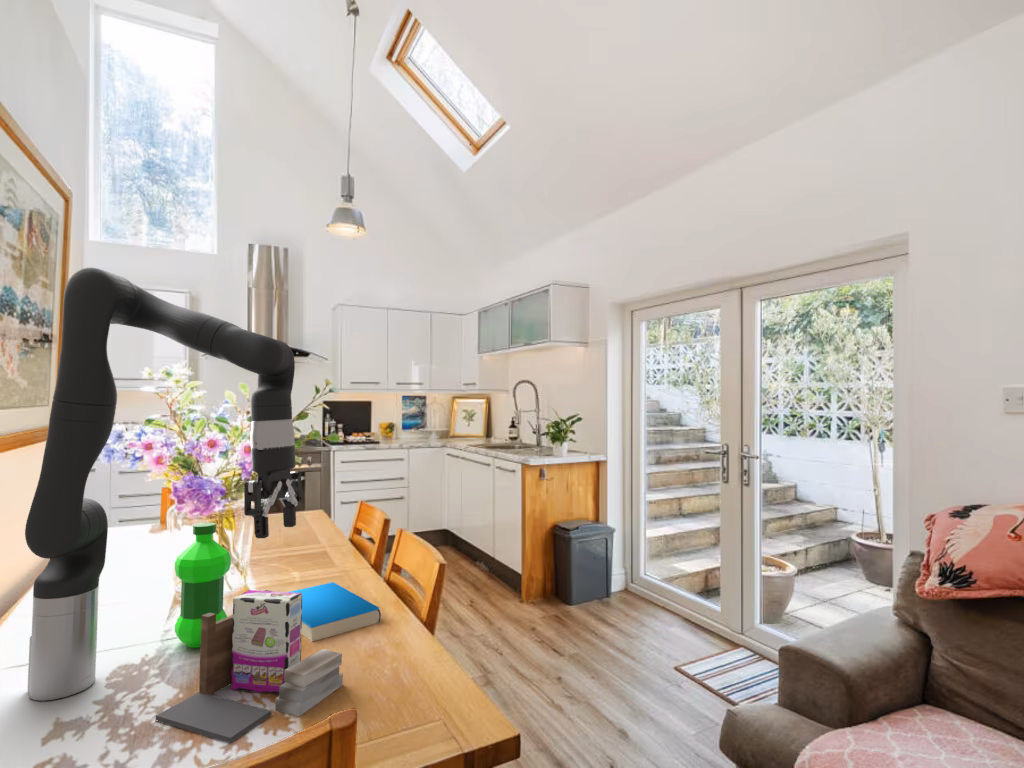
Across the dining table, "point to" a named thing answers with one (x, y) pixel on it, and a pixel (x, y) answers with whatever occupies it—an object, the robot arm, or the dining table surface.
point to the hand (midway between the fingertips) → (276, 532)
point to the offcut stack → (309, 682)
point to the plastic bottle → (201, 583)
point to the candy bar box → (265, 639)
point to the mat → (214, 716)
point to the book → (334, 611)
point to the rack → (215, 653)
